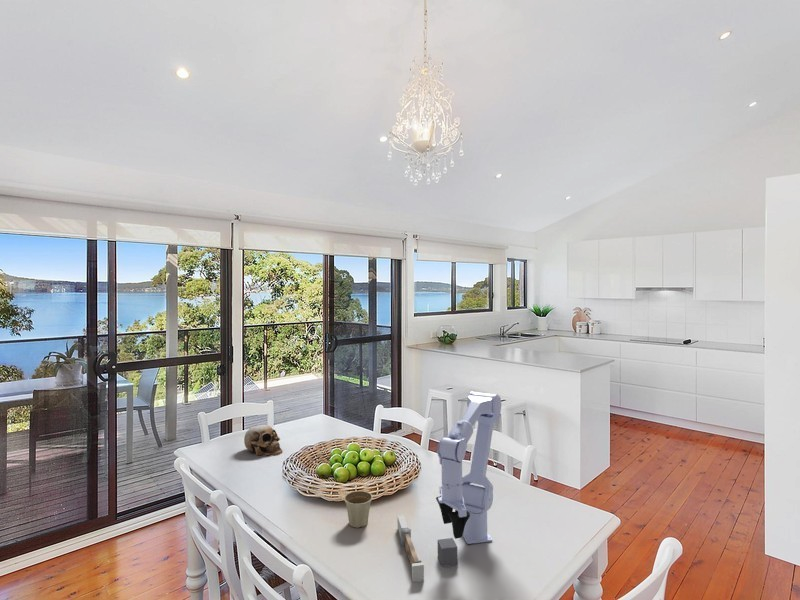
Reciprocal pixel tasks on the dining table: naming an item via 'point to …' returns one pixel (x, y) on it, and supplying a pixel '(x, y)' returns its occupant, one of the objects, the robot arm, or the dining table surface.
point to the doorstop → (447, 552)
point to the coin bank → (262, 440)
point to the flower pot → (358, 507)
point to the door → (411, 550)
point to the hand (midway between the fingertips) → (452, 530)
